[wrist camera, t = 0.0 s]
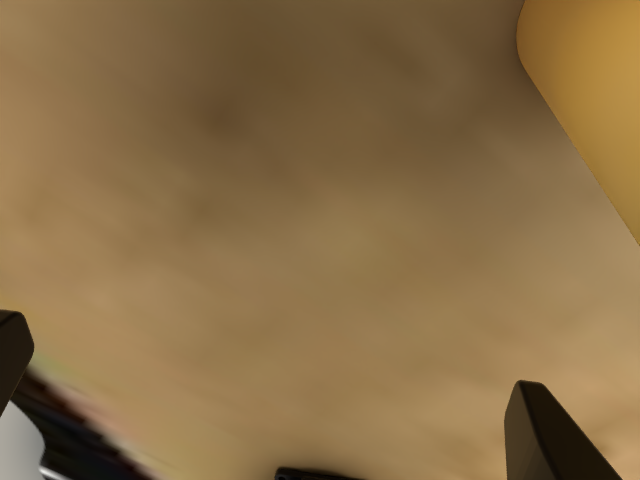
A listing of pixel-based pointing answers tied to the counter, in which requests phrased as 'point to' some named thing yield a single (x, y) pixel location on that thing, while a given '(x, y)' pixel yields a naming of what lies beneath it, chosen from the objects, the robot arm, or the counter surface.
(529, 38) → the cap
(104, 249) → the counter surface
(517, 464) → the robot arm
